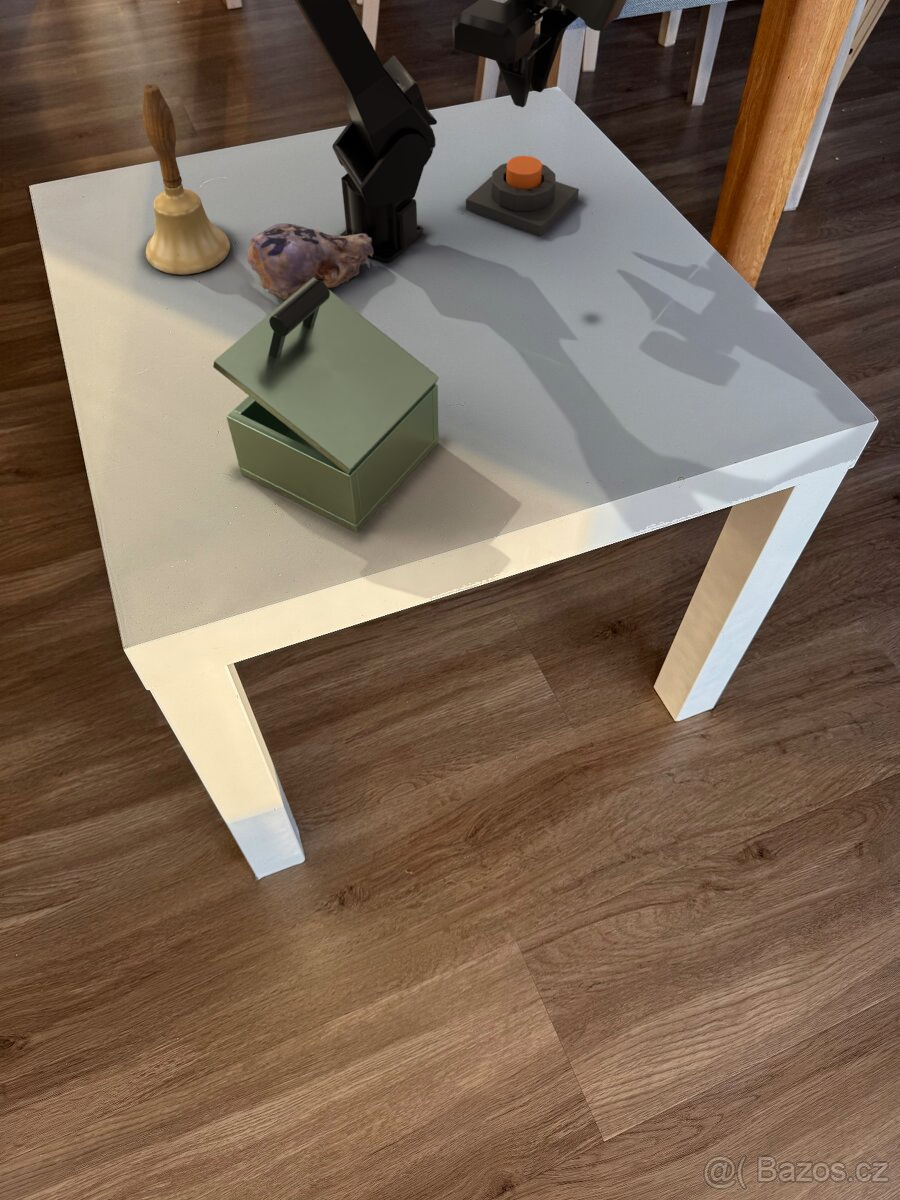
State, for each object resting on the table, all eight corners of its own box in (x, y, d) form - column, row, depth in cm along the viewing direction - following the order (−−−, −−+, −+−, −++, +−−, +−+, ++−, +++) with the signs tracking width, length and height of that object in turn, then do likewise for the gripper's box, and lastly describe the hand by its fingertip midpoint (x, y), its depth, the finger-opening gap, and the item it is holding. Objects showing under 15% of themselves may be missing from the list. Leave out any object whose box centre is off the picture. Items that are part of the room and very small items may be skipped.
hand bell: (222, 220, 98) (187, 57, 85) (237, 266, 93) (203, 101, 80) (141, 235, 96) (93, 71, 83) (152, 282, 92) (103, 117, 79)
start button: (499, 184, 97) (500, 167, 96) (517, 168, 99) (518, 151, 97) (530, 194, 96) (531, 178, 94) (547, 178, 98) (548, 161, 96)
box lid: (212, 367, 68) (219, 322, 64) (311, 283, 74) (324, 237, 69) (348, 475, 68) (364, 437, 64) (436, 383, 74) (456, 343, 69)
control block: (465, 209, 99) (465, 182, 96) (504, 174, 103) (505, 147, 100) (540, 236, 96) (543, 209, 94) (577, 199, 100) (581, 172, 98)
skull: (367, 239, 95) (361, 187, 89) (386, 294, 91) (381, 243, 86) (249, 264, 93) (235, 213, 88) (263, 320, 90) (250, 270, 85)
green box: (240, 474, 77) (225, 416, 72) (327, 391, 82) (318, 332, 77) (357, 533, 73) (349, 476, 68) (438, 443, 79) (438, 384, 74)
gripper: (574, -33, 71) (555, 167, 83) (679, -111, 80) (647, 80, 93) (448, -65, 74) (449, 131, 87) (563, -136, 84) (548, 51, 96)
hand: (528, 98), depth 91 cm, fingers open, 3 cm apart
